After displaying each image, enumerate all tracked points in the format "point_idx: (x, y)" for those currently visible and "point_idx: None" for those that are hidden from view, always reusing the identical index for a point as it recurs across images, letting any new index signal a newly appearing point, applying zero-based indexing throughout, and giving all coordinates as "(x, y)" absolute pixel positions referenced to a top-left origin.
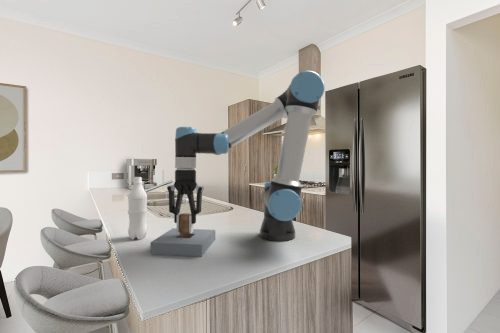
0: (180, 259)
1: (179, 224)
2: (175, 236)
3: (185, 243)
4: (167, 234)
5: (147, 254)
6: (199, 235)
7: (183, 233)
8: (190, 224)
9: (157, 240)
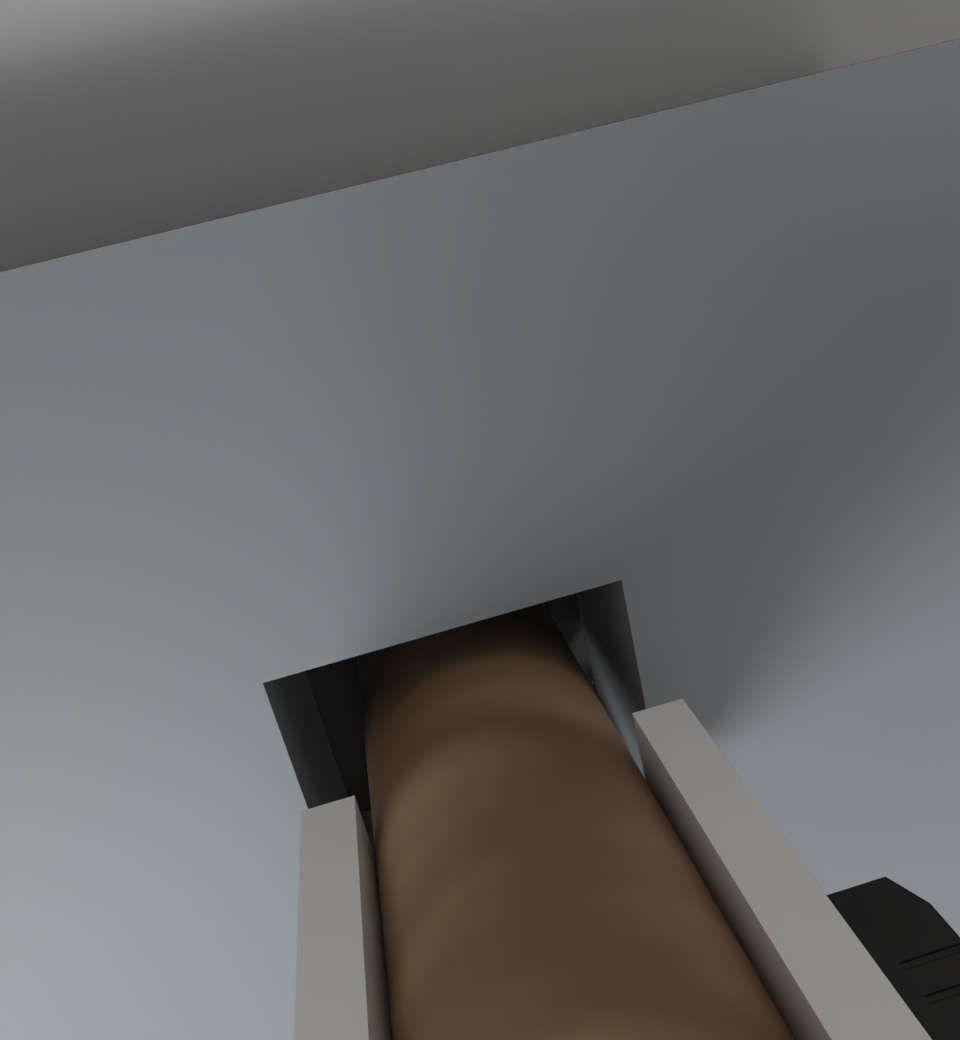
0: (75, 25)
1: (721, 903)
2: (666, 637)
3: (79, 290)
4: (910, 673)
5: (872, 31)
6: (186, 916)
7: (472, 717)
8: (314, 997)
9: (903, 226)
